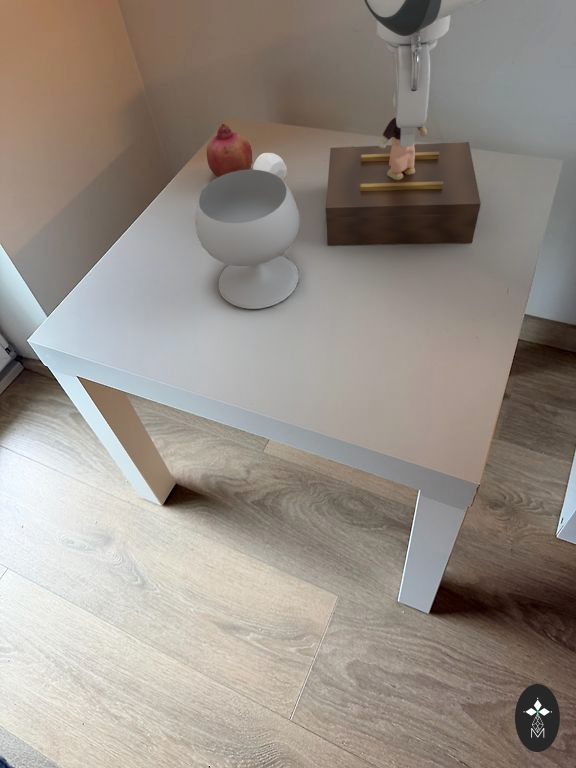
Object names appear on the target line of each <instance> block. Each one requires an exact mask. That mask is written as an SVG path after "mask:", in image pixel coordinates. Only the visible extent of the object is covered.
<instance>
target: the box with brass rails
mask: <svg viewBox="0 0 576 768" xmlns="http://www.w3.org/2000/svg"><path fill="white" fill-rule="evenodd" d="M391 147H392V144H391V145H388V144H386V148H385V149H380V148H379V145H365V146H364V145H363V146H342V147H341V146H340V147H330V149H329V161H328V176H327V187H326V199H325V200H326V201H325V220H326V242H327V243H326V244H327V245H326V246H364V245H365V246H369V245H423V244H425V245H427V244H431V245H432V244H472V243H473V241H474V236H475V232H476V228H477V222H478V218H479V214H480V210H481V205H482V203H481V197H480V192H479V186H478V182H477V181H478V180H477V177H476V170H475V166H474V161H473V156H472V150H471V146H470V142H469V141H464V142H440V143H439V142H438V143H420V144H419V143H417V144H416V143H414V147H415V158H414V169H415V173H414V174H411V175H407V174H405V173H404V172H403V171H402V172H401V173H402V174H403V178H402V179H400V180H395V179H393V178H391V177H389V176H388V175H387V172H388V170H389V169H390V168H391V166H390V165H389V160H390V153H391Z"/></svg>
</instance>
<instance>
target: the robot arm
mask: <svg viewBox="0 0 576 768" xmlns="http://www.w3.org/2000/svg"><path fill="white" fill-rule="evenodd" d="M363 1H364V3H365V6H366V7H367V9H368V11H369V12H370V13H371V15H372V16H373V17H374V18H375V20H376V27H375V30H376V31H375V33H376V35H377V36H378V37H379V38H380V39H381V40H383V41H384V42H385V47H386V50H388V51H389V52H391V57H392V70H393V89H394V90H393V91H394V92H393V93H394V94H395V108H394V111H395V117H396V125H397V127H398V128H401V131H400V145H401V146H402V147H408V146H412V145H413V144H415V134H416V131H417V129H418V128H419V127H423V126H424V125H425V126H426V122H427V118H428V107H429V96H430V84H431V56H430V51H432V50H433V49H435V48H436V46H437V45H438V39H440V38H442V37H443V36H445V35H446V34H447V33H448V32H449V30H450V25H451V18H452V17H451V16H452V15H454V14H456V13H458V12H462V11H463V10H467V9H468V8H471V7H473V6H476V5H477V4H479V3H482V2H484V1H485V0H363Z"/></svg>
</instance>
